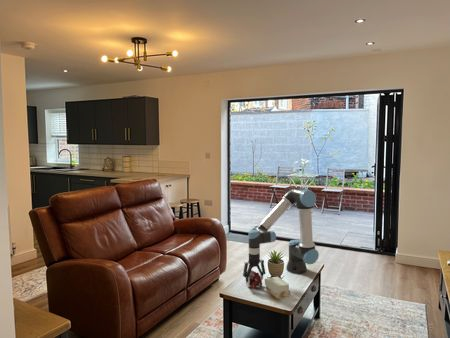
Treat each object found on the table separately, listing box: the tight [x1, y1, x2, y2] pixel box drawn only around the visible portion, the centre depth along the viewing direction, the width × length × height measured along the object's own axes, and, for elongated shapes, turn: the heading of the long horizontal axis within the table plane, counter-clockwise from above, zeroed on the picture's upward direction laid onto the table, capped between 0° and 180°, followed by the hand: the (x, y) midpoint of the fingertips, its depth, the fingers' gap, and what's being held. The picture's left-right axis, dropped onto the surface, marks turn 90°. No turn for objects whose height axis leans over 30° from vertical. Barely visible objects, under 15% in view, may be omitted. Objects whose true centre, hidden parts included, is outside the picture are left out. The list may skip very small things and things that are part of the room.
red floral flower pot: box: [245, 269, 263, 290], centre depth 239 cm, size 7×12×10 cm, turn 41°
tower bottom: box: [265, 285, 291, 299], centre depth 229 cm, size 10×14×4 cm
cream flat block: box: [264, 275, 290, 293], centre depth 229 cm, size 10×14×4 cm
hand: (254, 285), depth 239 cm, fingers closed on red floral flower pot, 8 cm apart
